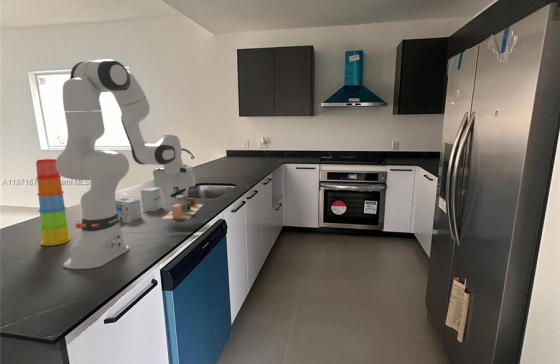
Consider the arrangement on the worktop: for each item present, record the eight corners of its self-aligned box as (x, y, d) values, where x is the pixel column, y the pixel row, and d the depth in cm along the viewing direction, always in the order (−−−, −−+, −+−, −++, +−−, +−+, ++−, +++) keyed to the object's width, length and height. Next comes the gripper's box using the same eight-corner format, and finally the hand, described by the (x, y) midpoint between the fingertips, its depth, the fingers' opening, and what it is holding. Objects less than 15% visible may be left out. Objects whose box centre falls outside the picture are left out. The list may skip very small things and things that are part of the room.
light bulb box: (116, 220, 152) (114, 200, 149) (128, 216, 157) (126, 196, 155) (130, 223, 147) (128, 202, 144) (142, 219, 152) (140, 199, 150)
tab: (178, 218, 150) (177, 206, 148) (172, 218, 150) (171, 206, 149) (182, 215, 155) (181, 203, 153) (176, 215, 155) (175, 204, 153)
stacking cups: (53, 237, 131) (39, 158, 124) (76, 236, 131) (63, 158, 124) (34, 246, 121) (17, 162, 114) (59, 246, 121) (44, 161, 114)
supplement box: (154, 213, 162) (152, 190, 159) (142, 212, 164) (140, 190, 161) (162, 209, 169) (160, 187, 167) (150, 208, 171) (148, 187, 168)
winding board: (188, 221, 149) (187, 202, 147) (161, 221, 149) (159, 202, 147) (203, 206, 174) (202, 189, 172) (180, 206, 175) (178, 189, 173)
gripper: (149, 169, 144) (153, 197, 148) (191, 169, 144) (194, 197, 147) (155, 167, 151) (158, 193, 154) (195, 166, 150) (197, 193, 153)
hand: (176, 195), depth 150 cm, fingers open, 8 cm apart
